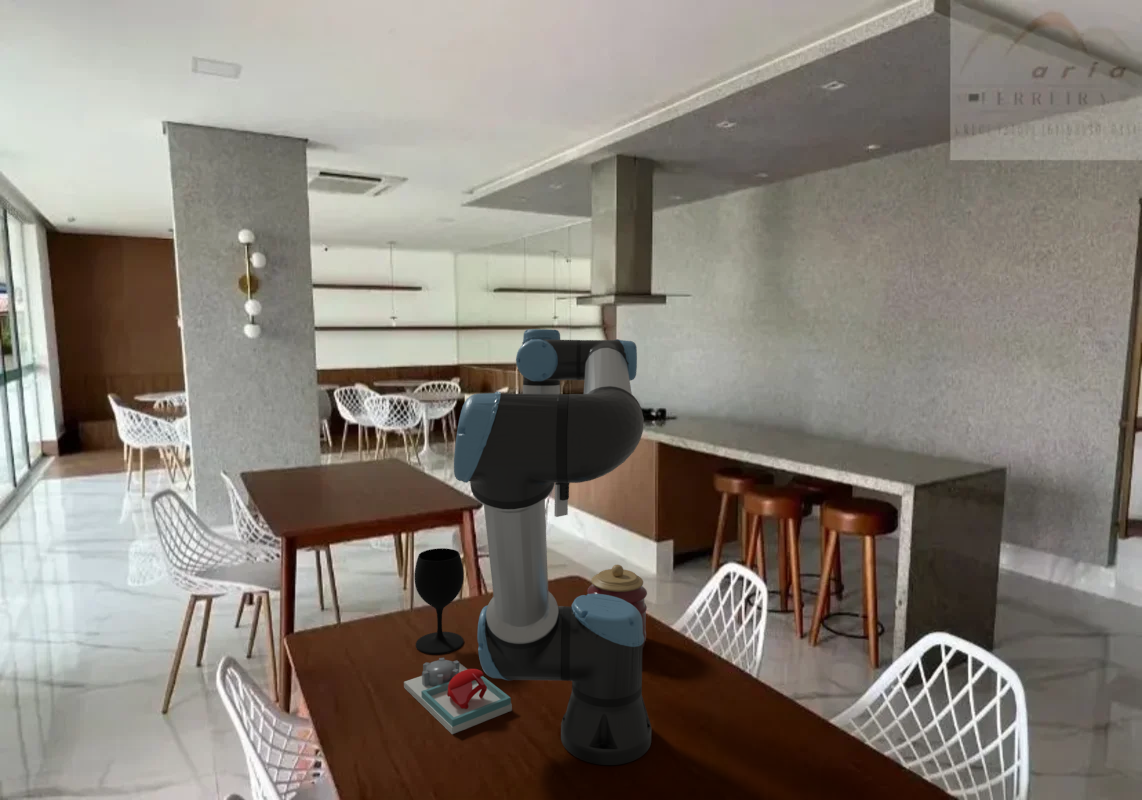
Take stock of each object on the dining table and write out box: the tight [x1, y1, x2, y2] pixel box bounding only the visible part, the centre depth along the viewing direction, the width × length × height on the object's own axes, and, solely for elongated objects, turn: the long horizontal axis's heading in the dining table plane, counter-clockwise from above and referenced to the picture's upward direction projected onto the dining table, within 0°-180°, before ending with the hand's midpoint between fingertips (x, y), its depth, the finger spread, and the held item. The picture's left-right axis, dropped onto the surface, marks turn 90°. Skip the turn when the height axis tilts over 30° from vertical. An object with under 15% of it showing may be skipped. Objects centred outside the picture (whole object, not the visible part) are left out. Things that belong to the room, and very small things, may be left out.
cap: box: [447, 668, 487, 709], centre depth 121 cm, size 8×6×6 cm
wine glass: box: [413, 547, 465, 656], centre depth 146 cm, size 10×10×20 cm
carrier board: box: [403, 657, 513, 735], centre depth 124 cm, size 19×12×4 cm, turn 38°
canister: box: [587, 564, 648, 649], centre depth 147 cm, size 13×13×18 cm
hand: (540, 508), depth 138 cm, fingers open, 13 cm apart
